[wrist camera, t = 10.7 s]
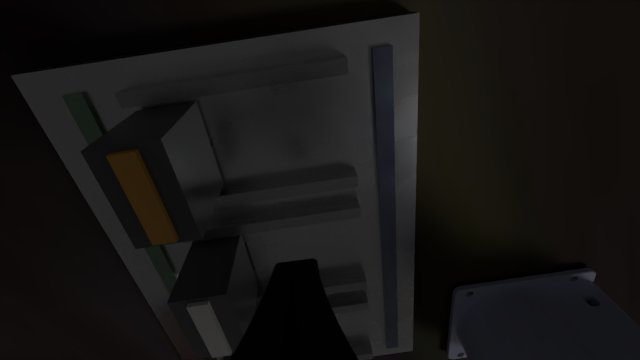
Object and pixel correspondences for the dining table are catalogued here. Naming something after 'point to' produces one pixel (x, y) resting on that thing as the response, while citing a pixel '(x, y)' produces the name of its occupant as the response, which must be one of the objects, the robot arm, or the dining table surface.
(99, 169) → the breaker
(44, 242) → the dining table surface
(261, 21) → the dining table surface
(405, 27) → the breaker panel
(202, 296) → the breaker
